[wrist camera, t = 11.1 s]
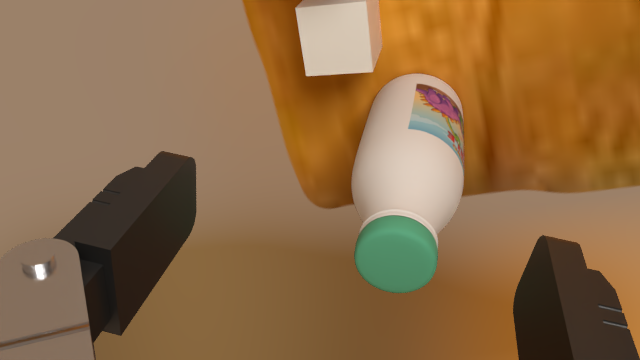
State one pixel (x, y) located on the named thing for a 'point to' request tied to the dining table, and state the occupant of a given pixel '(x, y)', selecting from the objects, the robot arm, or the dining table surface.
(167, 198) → the robot arm
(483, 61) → the dining table surface
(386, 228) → the milk bottle
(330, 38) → the beige block
